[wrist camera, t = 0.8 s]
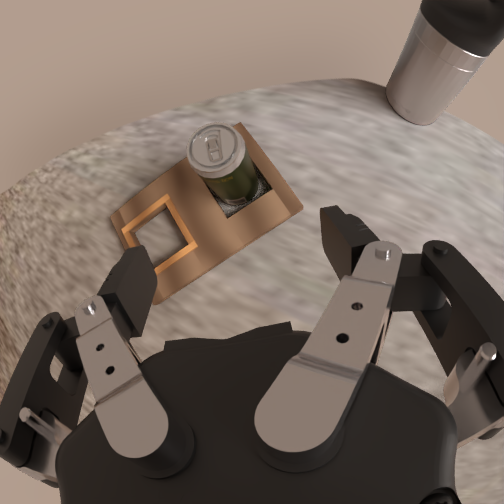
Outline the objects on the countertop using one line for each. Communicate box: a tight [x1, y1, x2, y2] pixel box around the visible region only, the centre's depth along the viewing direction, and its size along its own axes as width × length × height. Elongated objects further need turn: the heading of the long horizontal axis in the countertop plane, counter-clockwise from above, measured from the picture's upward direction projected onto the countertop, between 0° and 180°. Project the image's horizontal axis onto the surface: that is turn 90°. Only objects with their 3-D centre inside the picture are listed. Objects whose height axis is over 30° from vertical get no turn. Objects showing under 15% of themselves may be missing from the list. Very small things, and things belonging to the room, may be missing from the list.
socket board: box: [110, 122, 303, 305], centre depth 34 cm, size 22×14×2 cm, turn 123°
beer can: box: [186, 122, 259, 205], centre depth 29 cm, size 5×5×12 cm
